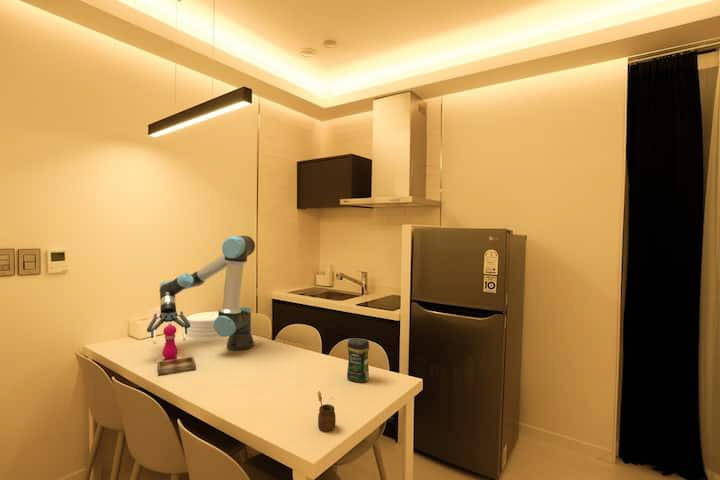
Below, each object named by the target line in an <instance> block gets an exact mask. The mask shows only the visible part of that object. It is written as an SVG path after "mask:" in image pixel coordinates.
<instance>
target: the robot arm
mask: <svg viewBox="0 0 720 480" xmlns="http://www.w3.org/2000/svg"><path fill="white" fill-rule="evenodd" d="M255 250H256V242H255V241H254V239H253V238H252V237H250V236H248V235H233V236H228V237H227V238H226V239H225V240H224V241H223V243H222V245H221V251H222V253H221V254H220V255H219V256H217V257H216V258H214V259H213V260H212V261H210V262H209V263H207V264H206V265H204V266H203V267H200V269H198V270H196V271H194V272H193V273H188V272H185V273H183V274H179V276H178V277H176V278H174V280H164V281H162V282H161V283H160V284H159V302H160V304H159V305H160V306H159V307H160V314H157V313H154V314H153V318H152V320H151V321H150V322H149V325H148V327H146V332H147V333H150V338H151V339H153V345H156V342H157V341H156V330H157V329H158V328H159V327H160V326H161V325H162V324H163V323H170V322H171V323H172V322H174V323H176V324H178V325H179V326H180V327H181V328H182V337H183V338H182V339H183V341H186V335H187V328H190V323H189V322H188V320H187V317H186V316H185V315H184V312H183V311H180V312H177V303H176V302H177V301H176V295H177V294H179V293H181V292H182V291H184V290H187V289H192V288H195V287H199V286H202V285H203V284H204V283H205V282H206V281H208V280H209V279H210V278H212V277H214V276H215V275H217V274H218V273H220V272H221V271H223V270H225V269H226V271H225V278H224V279H225V280H224V287H223V289H224V290H223V295H222V296H223V298H222V306H221V307H220V308H218V312H219V313H218V317H217V318H216V319H215V321H214V324H213V326H214V330H215V331H216V332H217V334H218V335H220V336H223V337H224V338H225V337H228V338H227V342H226V349H227V350H230V351H245V350H249V349H251V348H253V347H254V346H255V341H254V337H253V335H252V311H251V308H250V307H249V306H240V301H241V300H240V299H241V289H242V280H243V273H244V265H245V264H246V263H247V262H248V257H249V256H251V255H252V254H253V253H254V251H255ZM179 318H180V319H179ZM158 319H159V320H158ZM157 320H158V321H157ZM156 321H157V322H156ZM223 337H222V338H223Z"/></svg>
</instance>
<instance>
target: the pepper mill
mask: <svg viewBox="0 0 720 480" xmlns="http://www.w3.org/2000/svg"><path fill="white" fill-rule="evenodd" d="M167 323H168V324H167V325H166V326H165V327H164V329H163V330H162V331H163V335H164V339H165V343H164V347H163V349H162V357H163V358H162V361H167V360H174V359H178V355H179V354H178V353H179V349H178V347H177V345H176V342H175V341H176V340H175V338H176V333H177V327H176V326H175V325H172V324H173V323H172V322H167Z"/></svg>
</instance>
